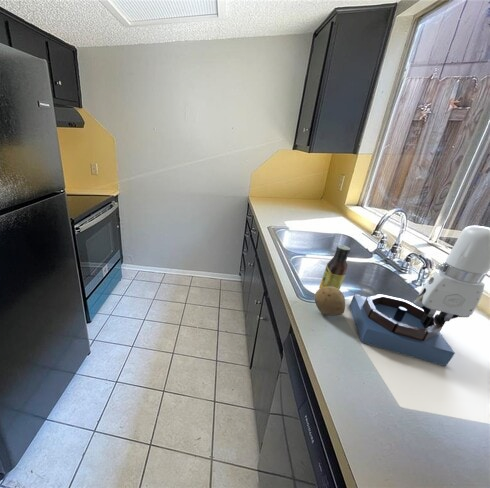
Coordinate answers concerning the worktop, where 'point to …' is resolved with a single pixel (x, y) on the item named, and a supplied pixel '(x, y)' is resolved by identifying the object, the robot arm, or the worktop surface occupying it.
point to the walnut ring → (395, 326)
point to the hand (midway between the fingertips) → (429, 327)
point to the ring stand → (379, 336)
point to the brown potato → (330, 301)
